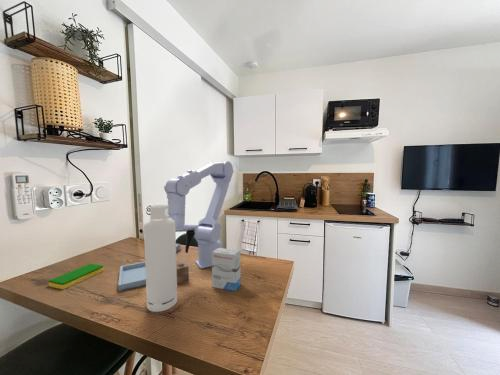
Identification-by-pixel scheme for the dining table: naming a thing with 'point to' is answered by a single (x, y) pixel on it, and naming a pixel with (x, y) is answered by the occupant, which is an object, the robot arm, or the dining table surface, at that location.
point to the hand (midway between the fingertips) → (174, 252)
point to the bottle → (160, 259)
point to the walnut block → (182, 272)
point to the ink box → (226, 269)
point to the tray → (132, 276)
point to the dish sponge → (75, 276)
